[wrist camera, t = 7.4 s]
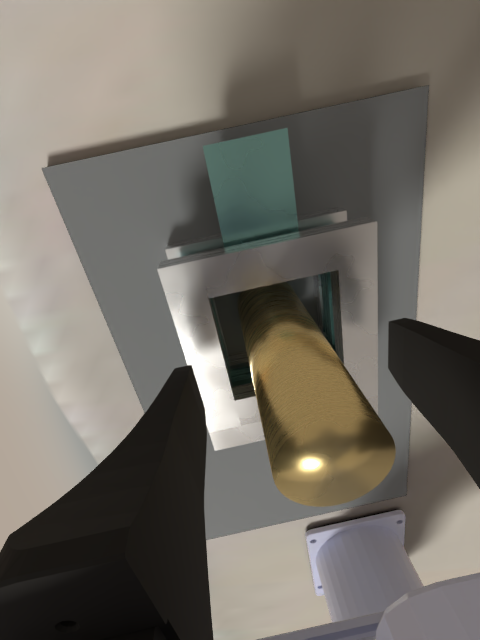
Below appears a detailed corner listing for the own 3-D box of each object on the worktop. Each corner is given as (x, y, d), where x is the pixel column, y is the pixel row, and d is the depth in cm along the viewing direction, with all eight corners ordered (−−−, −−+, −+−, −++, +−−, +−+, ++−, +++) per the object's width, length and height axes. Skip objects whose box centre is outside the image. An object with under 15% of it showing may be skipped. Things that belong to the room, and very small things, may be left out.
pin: (298, 323, 18) (394, 492, 9) (243, 335, 18) (281, 516, 9) (291, 270, 16) (396, 403, 7) (232, 282, 16) (263, 432, 7)
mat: (402, 489, 25) (406, 495, 25) (199, 534, 25) (198, 541, 25) (421, 87, 14) (428, 85, 13) (46, 167, 14) (41, 168, 13)
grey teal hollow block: (347, 369, 19) (378, 414, 16) (212, 399, 19) (214, 450, 16) (333, 119, 14) (376, 106, 10) (142, 160, 14) (122, 161, 10)
